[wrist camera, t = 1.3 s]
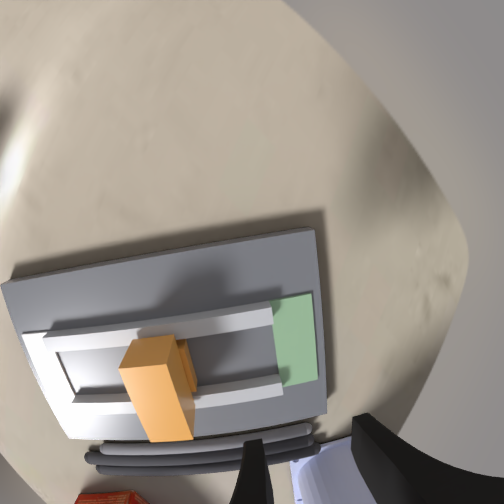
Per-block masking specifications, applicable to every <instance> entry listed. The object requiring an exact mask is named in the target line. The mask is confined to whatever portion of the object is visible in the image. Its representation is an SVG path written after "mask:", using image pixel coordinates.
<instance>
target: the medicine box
mask: <svg viewBox="0 0 504 504" xmlns="http://www.w3.org/2000/svg"><path fill="white" fill-rule="evenodd" d="M75 504H150V503H148V502H147V501H146V500H145V499H144V498H142V497H141V496H140V495H139V494H138V493H136V492H135V491H134V490H129V491H121V492H112V493H99V494H80V495H78V498H77V499H76V501H75Z"/></svg>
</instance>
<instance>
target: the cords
mask: <svg viewBox="0 0 504 504" xmlns="http://www.w3.org/2000/svg"><path fill="white" fill-rule="evenodd" d="M311 431H312V426H311V424H309V423H301V424H296V425H292V426H287V427H282V428H277V429H272V430H266V431H261V432H255V433H249V434H242V435H235V436H228V437H221V438H212V439H203V440H192V441H180V442H164V443H131V444H118V443H103V444H101V445H100V451H101V452H87V453H86V454H85V456H84V458H85V461H86V462H87V463H89V464H94V465H96V470H97V471H98V472H99V473H100V474H104V475H123V476H174V475H193V474H206V473H217V472H226V471H234V470H240V467H241V462H242V455H243V443H244V442H245V441H249V440H255V439H261V438H262V441H263V446H264V451H265V455H266V460H267V465H273V464H278V463H283V462H288V461H293V460H297V459H302V458H306V457H310V456H315V455H317V454H319V452H320V451H321V446H320V444H319V443H317V442H314V436H313V435H312V434H311Z"/></svg>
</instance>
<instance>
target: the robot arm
mask: <svg viewBox="0 0 504 504" xmlns="http://www.w3.org/2000/svg"><path fill="white" fill-rule="evenodd" d="M320 446H321V451H320V452H319V454H317V455H315V456H310V457H306V458H302V459H297V460H293V461H289V462H290V469H291V477H292V484H293V492H294V500H295V504H504V478H500V477H492V476H486V475H481V474H476V473H472V472H469V471H466V470H462V469H459V468H456V467H453V466H451V465H448V464H446V463H443V462H441V461H439V460H437V459H435V458H432V457H431V456H429V455H427V454H425V453H423V452H421V451H420V450H418V449H416V448H415V447H413V446H411V445H410V444H408V443H407V442H405V441H404V440H403V439H401V438H400V437H398V436H397V435H395V434H394V433H393V432H391V431H390V430H389V429H387V428H386V427H385V426H384V425H382V424H381V423H380V422H379V421H377V420H376V419H375V418H374V417H373V416H371V415H370V414H369V413H364V414H361V415H358V416H354V417H353V418H352V436H350V437H346V438H343V439H339V440H336V441H332V442H328V443H325V444H321V445H320ZM229 504H274V498H273V489H272V484H271V479H270V474H269V469H268V465H267V460H266V455H265V451H264V446H263V441H262V438H261V439H255V440H249V441H245V442H244V443H243V455H242V462H241V467H240V471H239V475H238V479H237V483H236V486H235V489H234V492H233V495H232V498H231V501H230V503H229Z"/></svg>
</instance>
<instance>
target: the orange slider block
mask: <svg viewBox="0 0 504 504" xmlns="http://www.w3.org/2000/svg"><path fill="white" fill-rule="evenodd" d="M118 370H119V372H120V375H121V377H122V380H123V382H124V385H125V387H126V390H127V392H128V394H129V397H130V399H131V401H132V404H133V406H134V408H135V410H136V413H137V415H138V417H139V419H140V421H141V423H142V426H143V428H144V430H145V432H146V434H147V436H148V438H149V440H150V442H169V441H184V440H193V437H194V421H195V406H196V405H195V402H194V399H193V396H192V393H191V392H197V377H196V373H195V370H194V366H193V363H192V359H191V356H190V352H189V348H188V345H187V341H186V339H179V340H176V339H175V336H174V334H172V335H165V336H157V337H149V338H141V339H132V341H131V343H130V345H129V347H128V349H127V351H126V353H125V355H124V358H123V360H122V362H121V364H120V366H119V368H118Z"/></svg>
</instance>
